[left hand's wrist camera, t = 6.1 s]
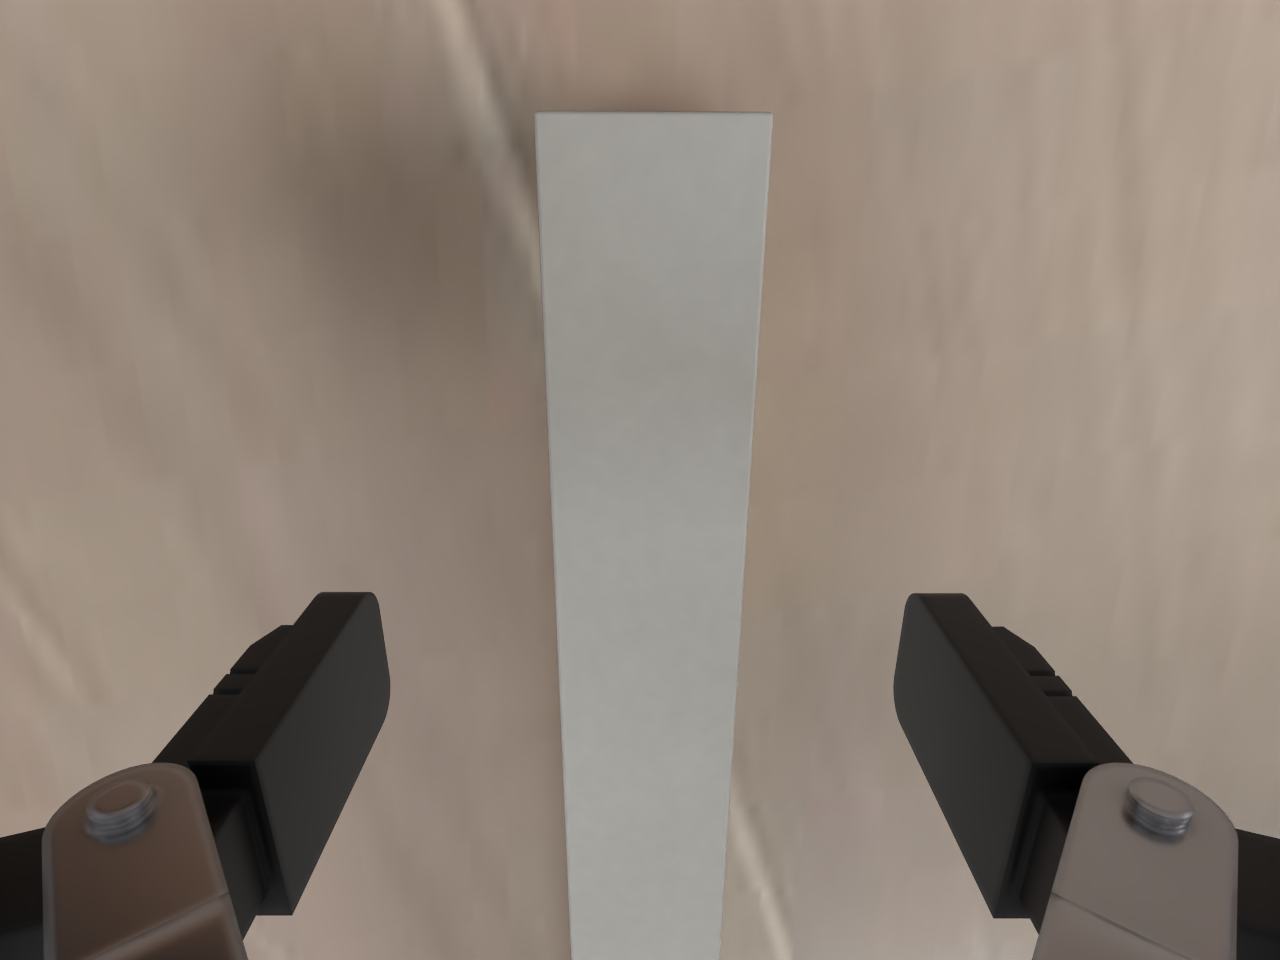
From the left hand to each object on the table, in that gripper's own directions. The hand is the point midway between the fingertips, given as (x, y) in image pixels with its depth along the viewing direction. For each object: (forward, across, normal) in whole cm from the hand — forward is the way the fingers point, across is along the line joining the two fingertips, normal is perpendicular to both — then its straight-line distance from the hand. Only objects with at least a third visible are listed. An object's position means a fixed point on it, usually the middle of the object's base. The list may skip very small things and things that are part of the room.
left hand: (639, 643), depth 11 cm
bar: (+12, 0, +29) cm, 32 cm away
